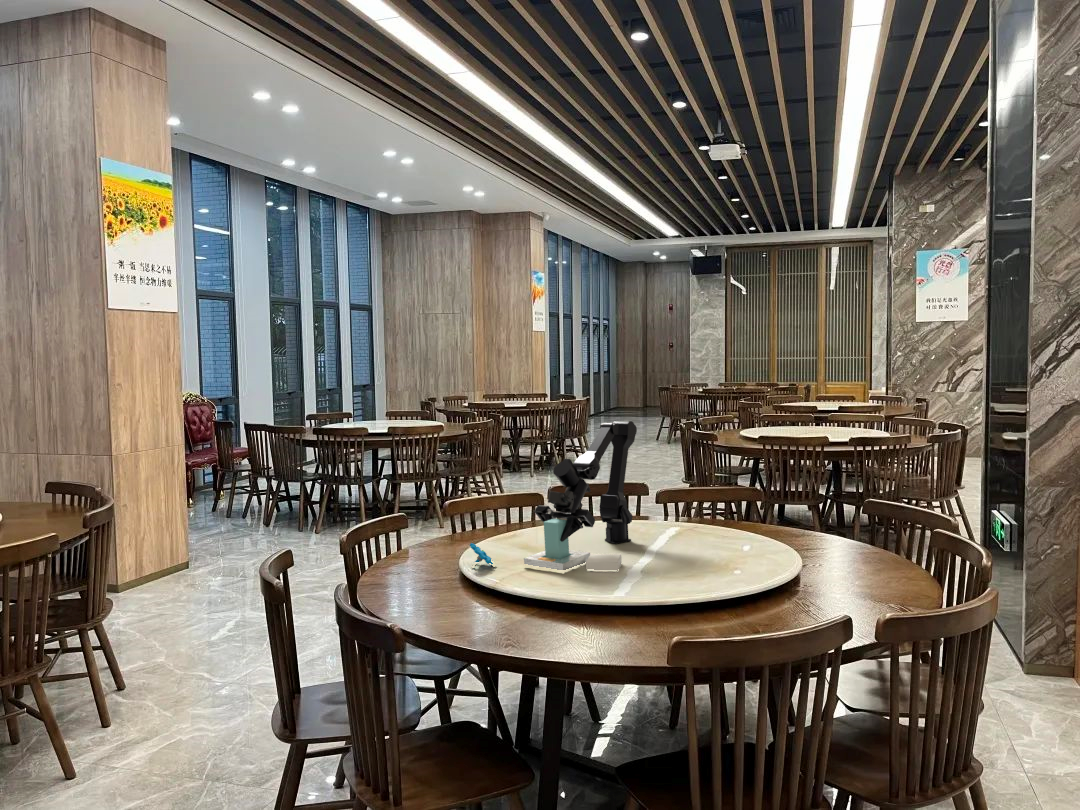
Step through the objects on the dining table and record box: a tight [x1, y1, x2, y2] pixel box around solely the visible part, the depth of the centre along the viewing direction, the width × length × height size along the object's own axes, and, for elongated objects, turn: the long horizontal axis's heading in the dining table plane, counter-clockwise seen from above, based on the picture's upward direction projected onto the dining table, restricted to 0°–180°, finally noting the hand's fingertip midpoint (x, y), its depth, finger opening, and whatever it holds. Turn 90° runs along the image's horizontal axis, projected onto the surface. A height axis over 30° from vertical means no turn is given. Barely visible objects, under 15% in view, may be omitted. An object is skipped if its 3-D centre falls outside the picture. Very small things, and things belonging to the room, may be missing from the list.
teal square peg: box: [543, 518, 570, 559], centre depth 259 cm, size 5×5×11 cm
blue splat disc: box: [469, 542, 493, 565], centre depth 262 cm, size 11×6×10 cm
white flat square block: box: [585, 553, 623, 572], centre depth 254 cm, size 9×9×3 cm
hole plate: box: [523, 549, 591, 570], centre depth 260 cm, size 14×14×3 cm
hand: (553, 540), depth 258 cm, fingers closed on teal square peg, 5 cm apart
